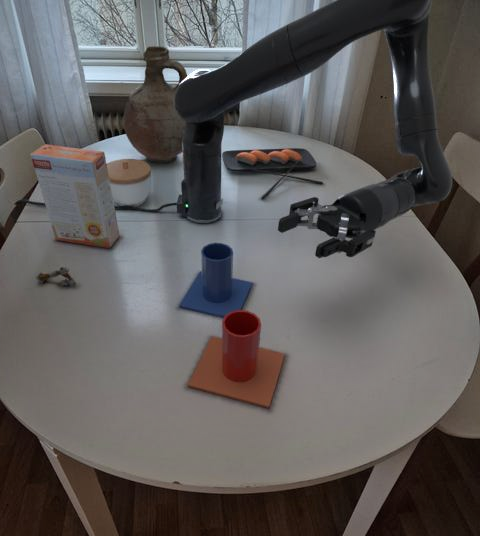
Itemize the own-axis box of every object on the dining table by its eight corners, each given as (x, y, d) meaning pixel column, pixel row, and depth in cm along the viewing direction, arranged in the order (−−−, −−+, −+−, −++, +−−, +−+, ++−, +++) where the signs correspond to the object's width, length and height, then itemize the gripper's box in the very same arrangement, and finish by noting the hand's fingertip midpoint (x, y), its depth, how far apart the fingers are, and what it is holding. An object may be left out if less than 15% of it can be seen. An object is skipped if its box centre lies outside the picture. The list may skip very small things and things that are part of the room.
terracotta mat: (187, 387, 72) (187, 384, 71) (211, 338, 80) (211, 336, 80) (269, 408, 69) (269, 406, 69) (284, 355, 78) (285, 353, 77)
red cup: (217, 377, 73) (217, 331, 65) (228, 352, 77) (229, 306, 70) (251, 386, 72) (255, 340, 64) (260, 360, 76) (265, 314, 68)
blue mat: (179, 307, 86) (179, 305, 86) (200, 273, 95) (200, 271, 94) (236, 320, 84) (236, 318, 84) (252, 284, 92) (252, 282, 92)
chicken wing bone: (77, 286, 88) (63, 268, 86) (48, 293, 91) (34, 276, 89) (81, 281, 90) (68, 263, 87) (52, 287, 93) (39, 271, 90)
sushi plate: (305, 153, 145) (307, 141, 142) (334, 195, 123) (337, 183, 121) (220, 156, 140) (220, 144, 138) (235, 200, 119) (235, 188, 116)
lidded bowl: (97, 206, 114) (88, 166, 106) (123, 186, 123) (117, 148, 115) (138, 217, 111) (132, 176, 103) (162, 196, 120) (159, 156, 112)
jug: (131, 143, 145) (117, 39, 125) (194, 143, 148) (191, 41, 127) (125, 171, 130) (108, 58, 109) (197, 170, 132) (193, 59, 111)
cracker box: (120, 236, 104) (105, 150, 90) (109, 249, 100) (92, 161, 85) (67, 227, 106) (44, 142, 92) (54, 240, 102) (28, 152, 87)
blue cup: (198, 301, 88) (196, 257, 80) (208, 283, 92) (207, 240, 84) (226, 308, 87) (227, 263, 79) (235, 289, 91) (236, 246, 83)
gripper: (339, 173, 76) (270, 198, 68) (406, 207, 68) (336, 239, 60) (331, 212, 81) (265, 238, 73) (392, 247, 73) (326, 281, 65)
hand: (298, 239), depth 67 cm, fingers open, 8 cm apart
